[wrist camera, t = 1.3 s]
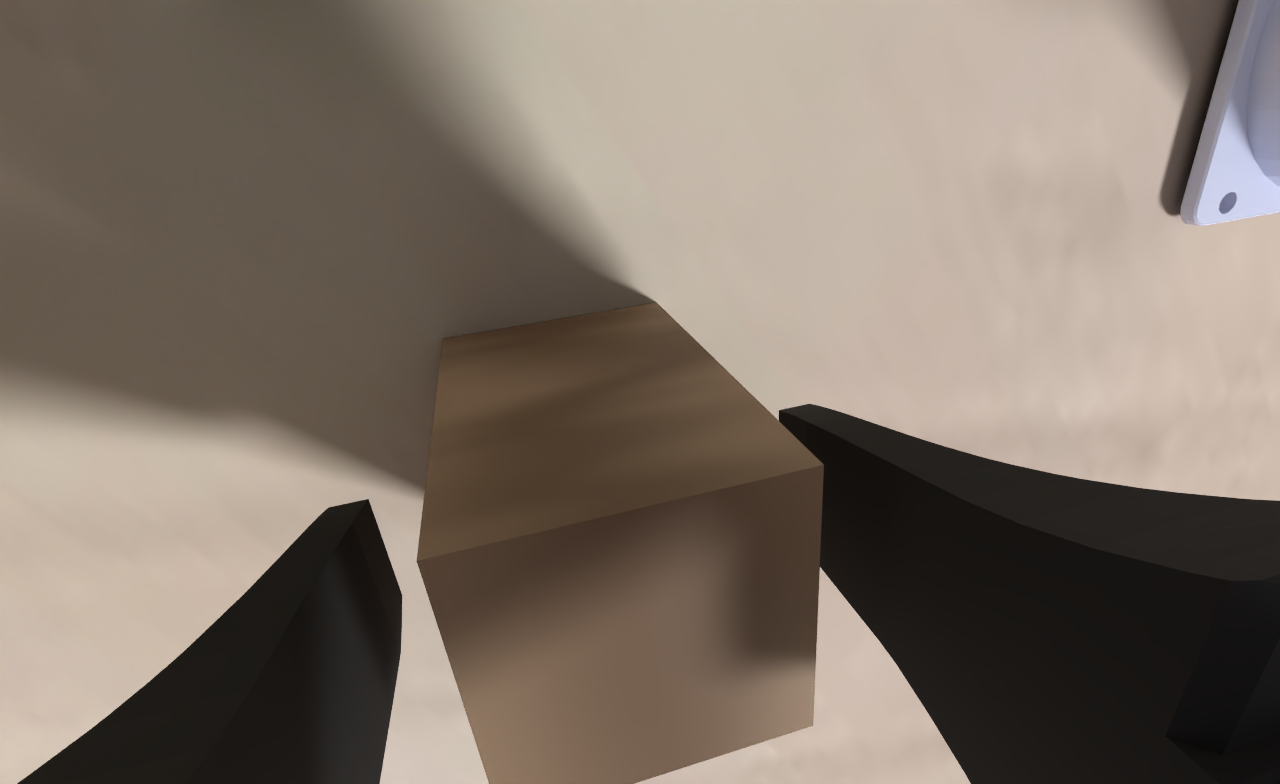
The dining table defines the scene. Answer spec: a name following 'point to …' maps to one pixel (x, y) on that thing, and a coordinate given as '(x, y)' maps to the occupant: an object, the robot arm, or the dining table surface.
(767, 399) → the dining table surface
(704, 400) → the walnut block
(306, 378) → the dining table surface
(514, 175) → the dining table surface
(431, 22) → the dining table surface
